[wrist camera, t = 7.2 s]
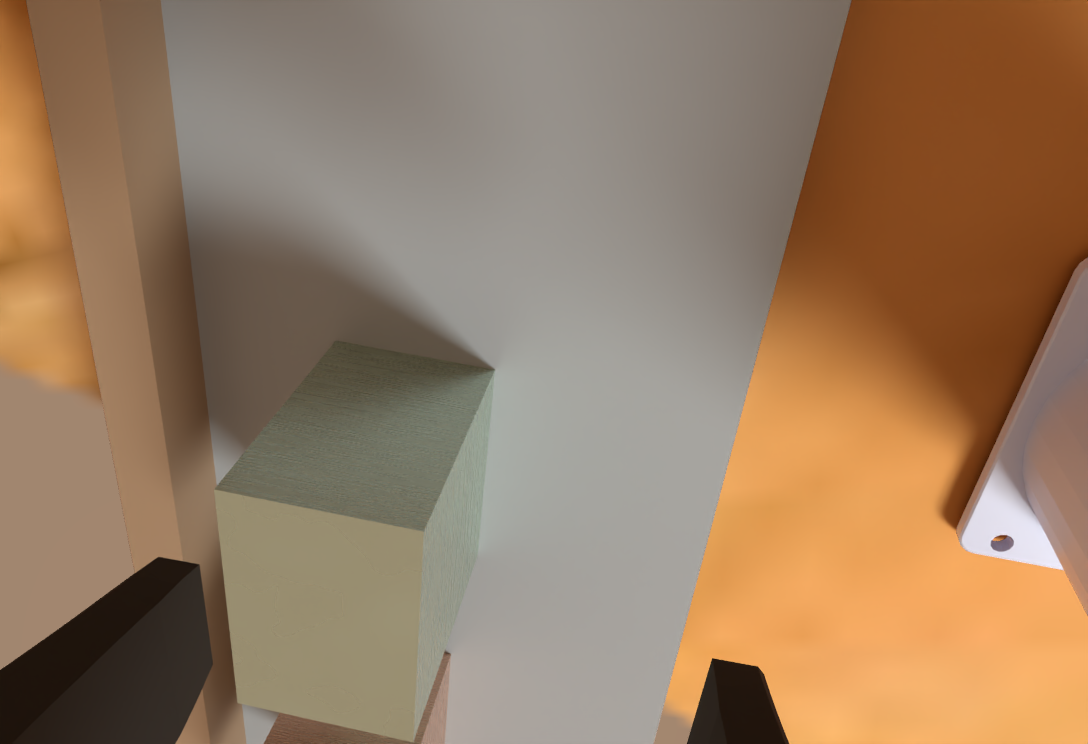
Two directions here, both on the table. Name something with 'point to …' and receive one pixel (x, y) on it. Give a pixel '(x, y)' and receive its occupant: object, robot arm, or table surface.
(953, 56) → the table surface
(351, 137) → the shelf
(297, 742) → the terracotta tin
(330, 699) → the sage tin
